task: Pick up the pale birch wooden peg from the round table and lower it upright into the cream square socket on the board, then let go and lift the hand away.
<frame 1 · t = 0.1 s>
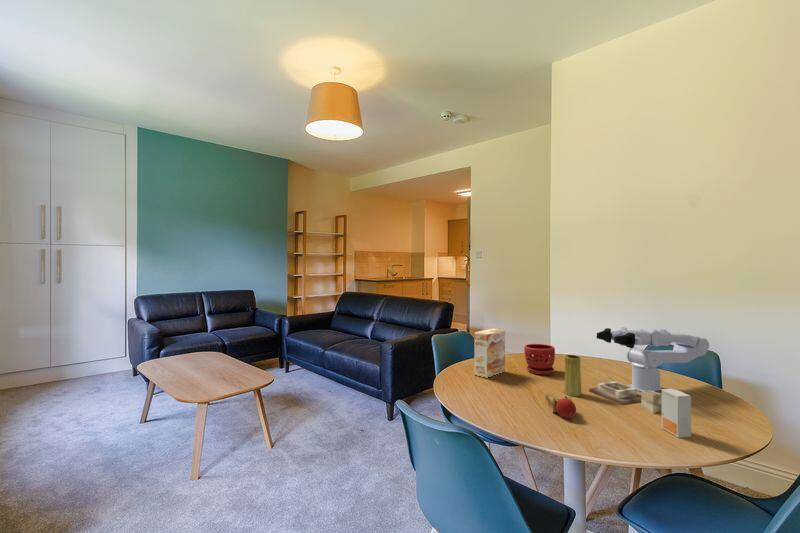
hand: (605, 337, 135), 22 cm above the table, tool horizontal, fingers open, 7 cm apart
birch peg: (651, 410, 121), on the table
coffeecake box: (490, 374, 162), on the table
vase: (572, 394, 137), on the table
skincare box: (675, 433, 105), on the table
kendama: (558, 410, 122), on the table
plant pot: (539, 372, 165), on the table
socket board: (616, 395, 135), on the table
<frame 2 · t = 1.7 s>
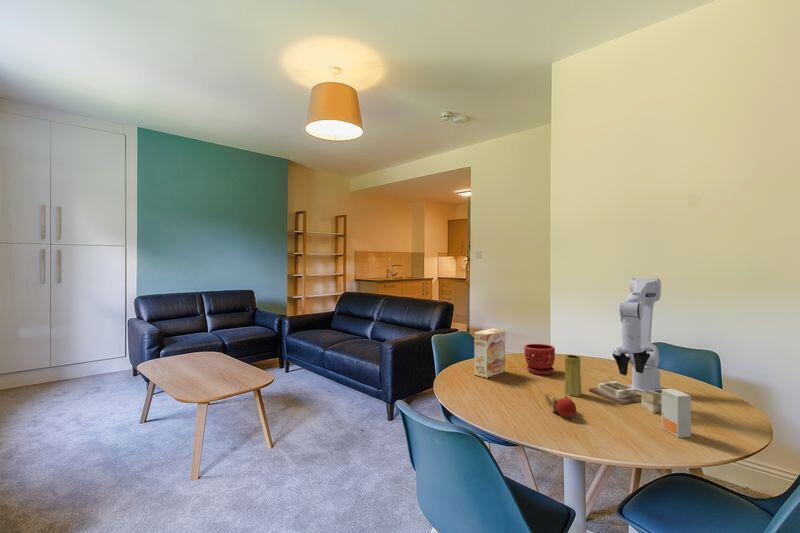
hand: (631, 373, 128), 10 cm above the table, tool pointing down, fingers open, 7 cm apart
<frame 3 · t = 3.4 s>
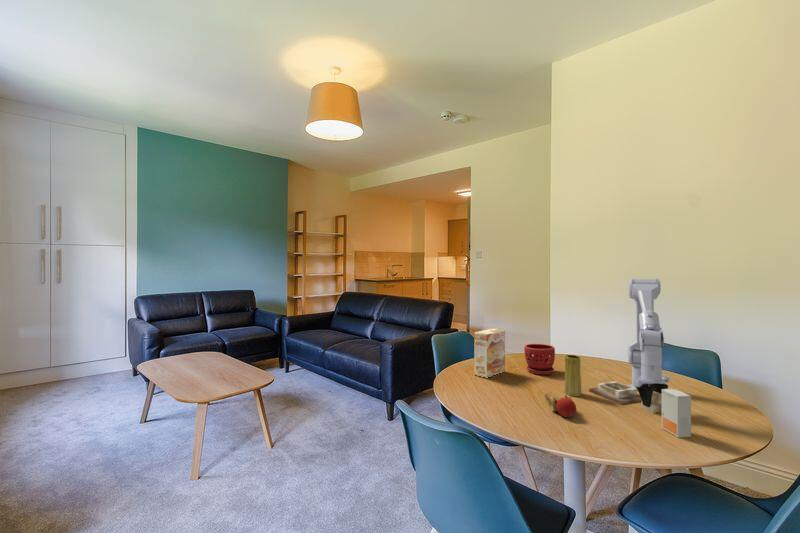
hand: (651, 405, 121), 2 cm above the table, tool pointing down, fingers closed on birch peg, 4 cm apart
birch peg: (651, 410, 121), on the table, touching gripper
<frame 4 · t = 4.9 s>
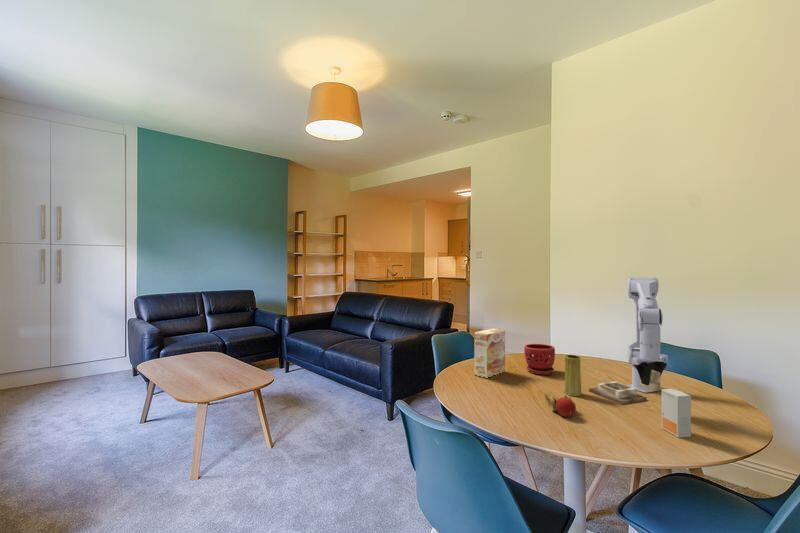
hand: (650, 383, 122), 9 cm above the table, tool pointing down, fingers closed on birch peg, 4 cm apart
birch peg: (650, 389, 121), point 7 cm above the table, touching gripper
when the fingers open (5 cm above the table, at t = 6.9 s): birch peg drops 2 cm, resting on socket board.
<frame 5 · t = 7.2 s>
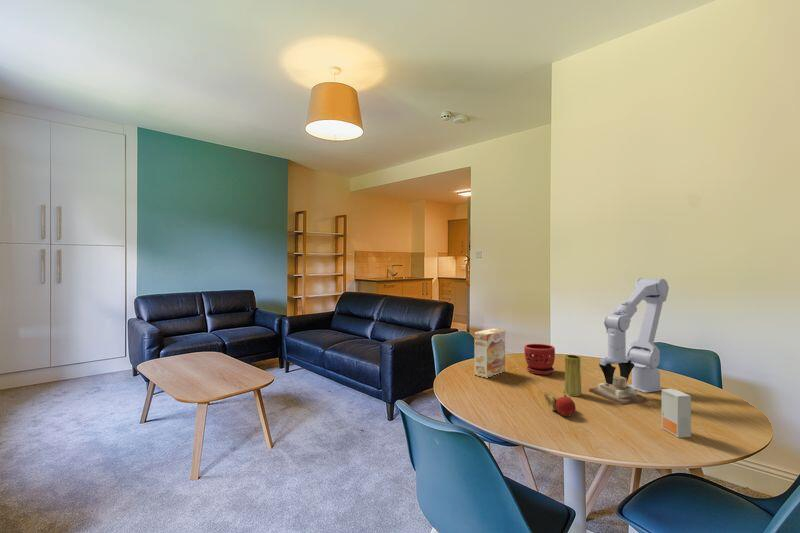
hand: (616, 382, 135), 5 cm above the table, tool pointing down, fingers open, 7 cm apart
birch peg: (617, 393, 134), point 1 cm above the table, touching socket board
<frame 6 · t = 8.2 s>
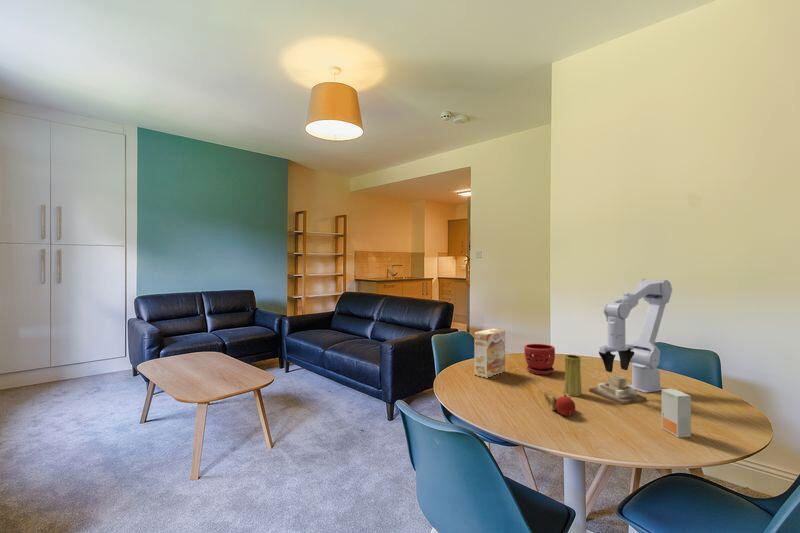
hand: (616, 370, 135), 9 cm above the table, tool pointing down, fingers open, 7 cm apart
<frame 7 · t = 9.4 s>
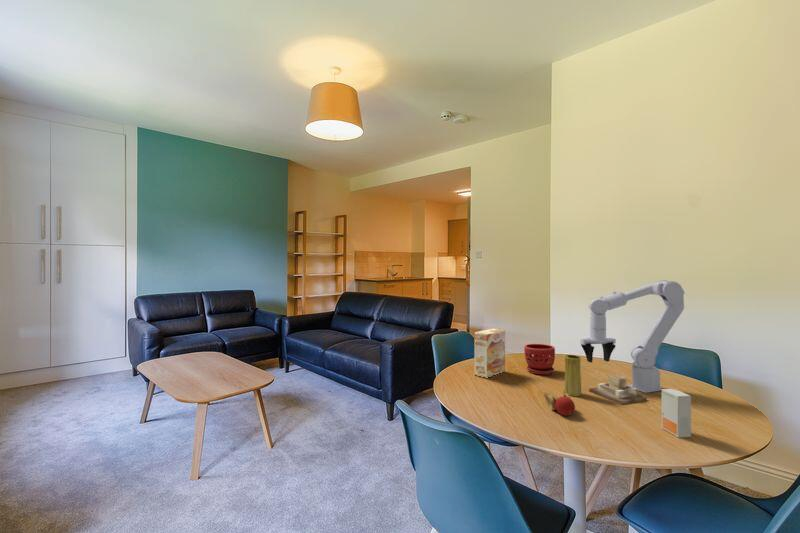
hand: (598, 361, 147), 9 cm above the table, tool pointing down, fingers open, 7 cm apart
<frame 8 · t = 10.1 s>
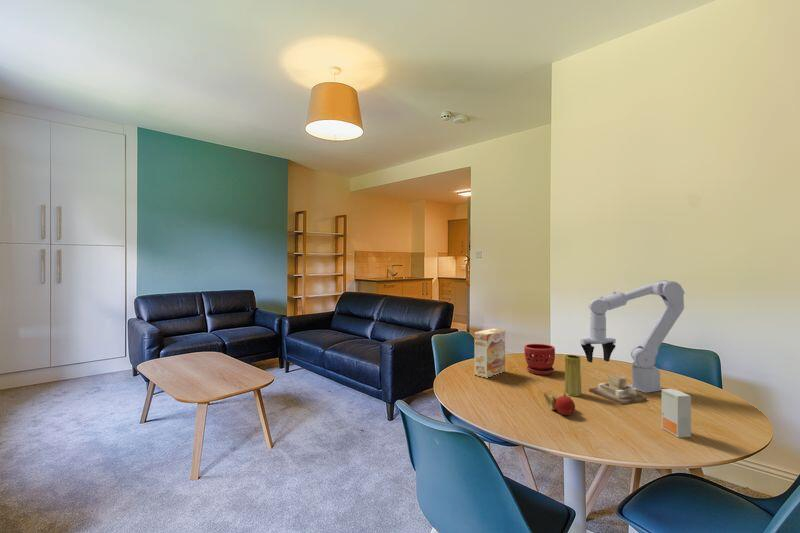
hand: (598, 361, 147), 9 cm above the table, tool pointing down, fingers open, 7 cm apart
at the end: birch peg 0.4 cm off-centre on the socket board, point 1.0 cm above the socket board's base; birch peg tilted 0°; the gripper is holding nothing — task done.
